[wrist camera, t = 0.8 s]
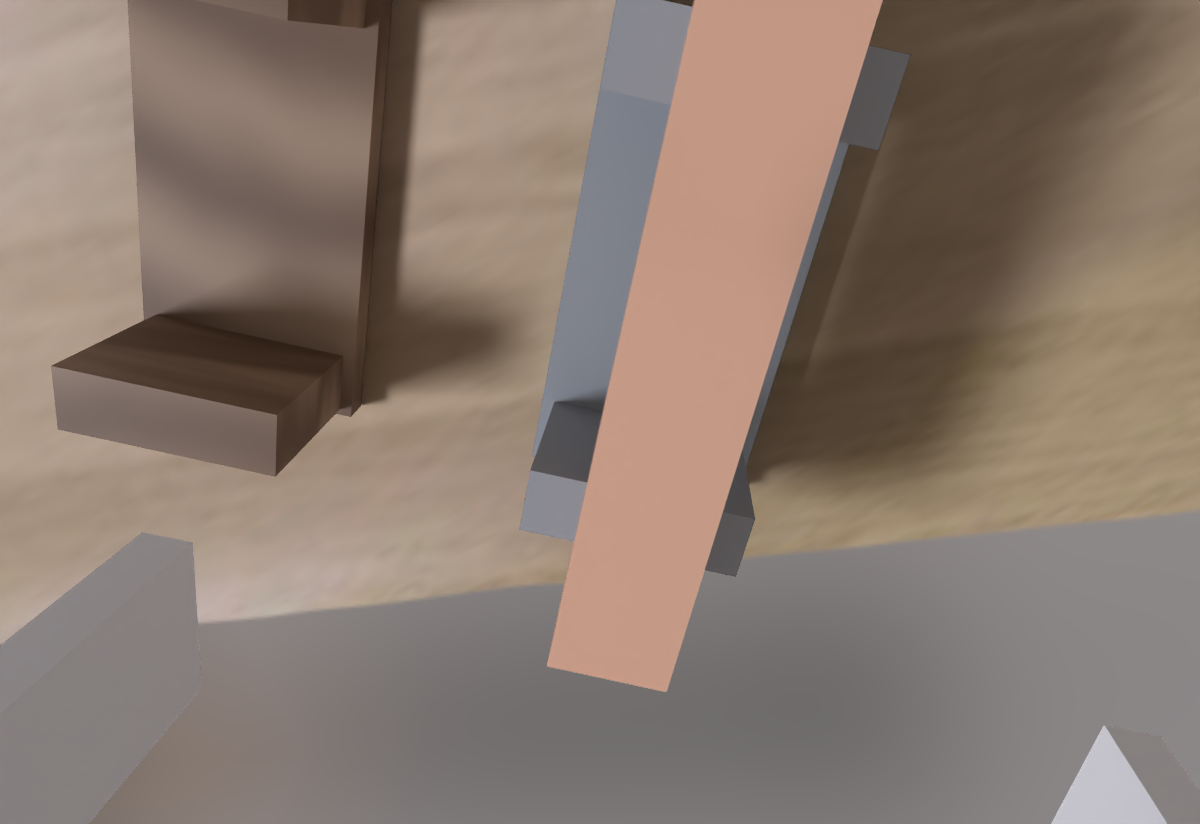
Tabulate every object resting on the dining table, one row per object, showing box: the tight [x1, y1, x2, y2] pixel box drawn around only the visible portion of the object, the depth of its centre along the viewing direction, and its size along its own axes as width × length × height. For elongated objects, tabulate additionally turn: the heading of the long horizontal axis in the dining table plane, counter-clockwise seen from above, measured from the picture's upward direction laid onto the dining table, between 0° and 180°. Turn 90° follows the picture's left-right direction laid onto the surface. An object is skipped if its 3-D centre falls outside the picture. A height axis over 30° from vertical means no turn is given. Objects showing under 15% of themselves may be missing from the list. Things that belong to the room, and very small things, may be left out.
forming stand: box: [519, 0, 910, 577], centre depth 28 cm, size 18×9×7 cm, turn 169°
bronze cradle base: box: [51, 0, 392, 476], centre depth 28 cm, size 18×9×7 cm, turn 169°
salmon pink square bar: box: [547, 0, 883, 692], centre depth 23 cm, size 22×4×4 cm, turn 169°
